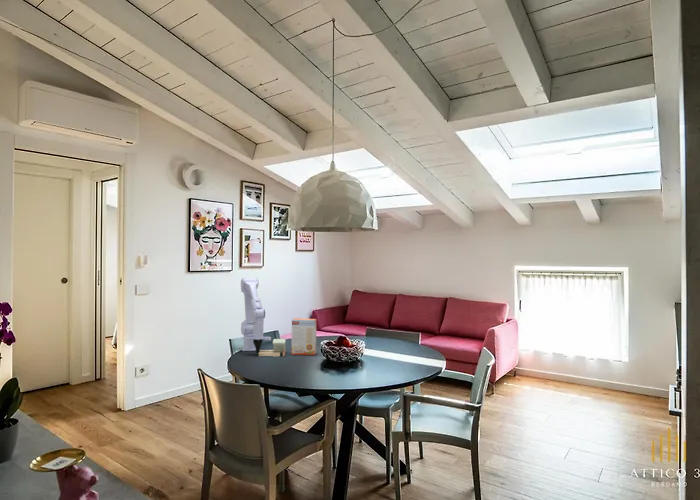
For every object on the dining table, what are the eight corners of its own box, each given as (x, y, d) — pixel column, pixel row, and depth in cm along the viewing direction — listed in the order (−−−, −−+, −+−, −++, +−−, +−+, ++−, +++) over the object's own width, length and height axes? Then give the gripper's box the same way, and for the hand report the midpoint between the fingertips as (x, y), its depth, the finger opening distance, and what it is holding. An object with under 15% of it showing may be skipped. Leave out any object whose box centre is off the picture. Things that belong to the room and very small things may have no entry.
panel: (259, 354, 258) (260, 350, 258) (280, 354, 259) (280, 349, 259) (258, 357, 250) (258, 353, 250) (279, 357, 251) (279, 352, 251)
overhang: (273, 352, 262) (273, 338, 262) (285, 351, 263) (285, 338, 263) (272, 356, 250) (272, 342, 250) (284, 356, 251) (285, 342, 251)
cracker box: (316, 353, 261) (316, 318, 261) (314, 355, 255) (315, 319, 255) (293, 352, 262) (294, 317, 263) (290, 354, 256) (291, 319, 257)
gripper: (244, 330, 249) (244, 354, 249) (270, 330, 251) (269, 354, 251) (246, 328, 256) (245, 351, 256) (271, 328, 258) (270, 351, 258)
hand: (257, 352), depth 254 cm, fingers closed
